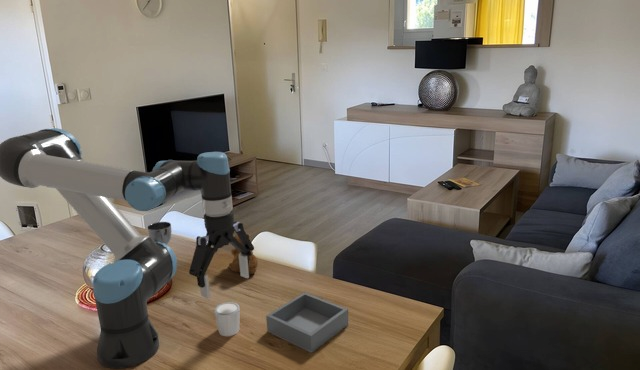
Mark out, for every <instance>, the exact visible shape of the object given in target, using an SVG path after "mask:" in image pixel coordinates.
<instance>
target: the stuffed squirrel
mask: <svg viewBox="0 0 640 370" xmlns="http://www.w3.org/2000/svg"><path fill="white" fill-rule="evenodd" d="M246 234H247V236H248V238H249V239H250V237H251V234H250V233H246ZM234 237H235V238H236V239H237V241H238V242H240V243H241V244H242V245H243V243H242V242H241V240H240V238H239V237H238V235H237V233H235V235H234ZM243 246H244V245H243ZM253 251H254V250H253ZM253 251H250V252H251V253H252V254H251V255H250V256H249V265H248V271H249V275H253V274H255V273H256V272H257V266H258V258H257V256H255V255H254V252H253ZM239 254H242V253H241V252H240V251H238V250H237V249H236V248H235V247H234V248H232V249H231V255H232V256H233V260H232V262H229V263H228V267H229V269H230V270H231V271H233V272H236V273H240V265H239Z"/></svg>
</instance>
